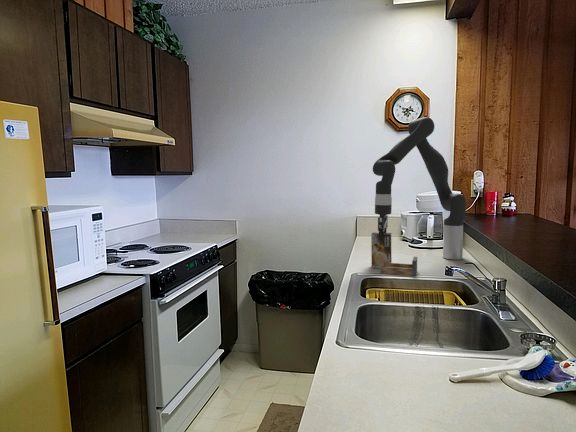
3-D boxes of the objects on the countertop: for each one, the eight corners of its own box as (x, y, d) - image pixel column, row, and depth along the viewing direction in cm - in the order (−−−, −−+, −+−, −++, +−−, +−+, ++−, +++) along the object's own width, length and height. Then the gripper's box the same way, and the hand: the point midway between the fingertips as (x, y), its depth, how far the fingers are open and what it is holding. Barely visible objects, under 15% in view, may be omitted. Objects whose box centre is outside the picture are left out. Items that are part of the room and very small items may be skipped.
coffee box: (391, 266, 191) (392, 232, 189) (391, 269, 185) (391, 234, 183) (372, 265, 194) (372, 232, 192) (370, 268, 187) (371, 234, 186)
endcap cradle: (417, 271, 180) (417, 256, 179) (415, 276, 171) (415, 261, 171) (384, 269, 185) (384, 254, 185) (381, 273, 177) (381, 258, 176)
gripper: (389, 205, 179) (388, 241, 180) (393, 203, 192) (392, 236, 193) (372, 204, 181) (371, 240, 183) (377, 202, 194) (376, 236, 196)
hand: (382, 238), depth 188 cm, fingers open, 8 cm apart
